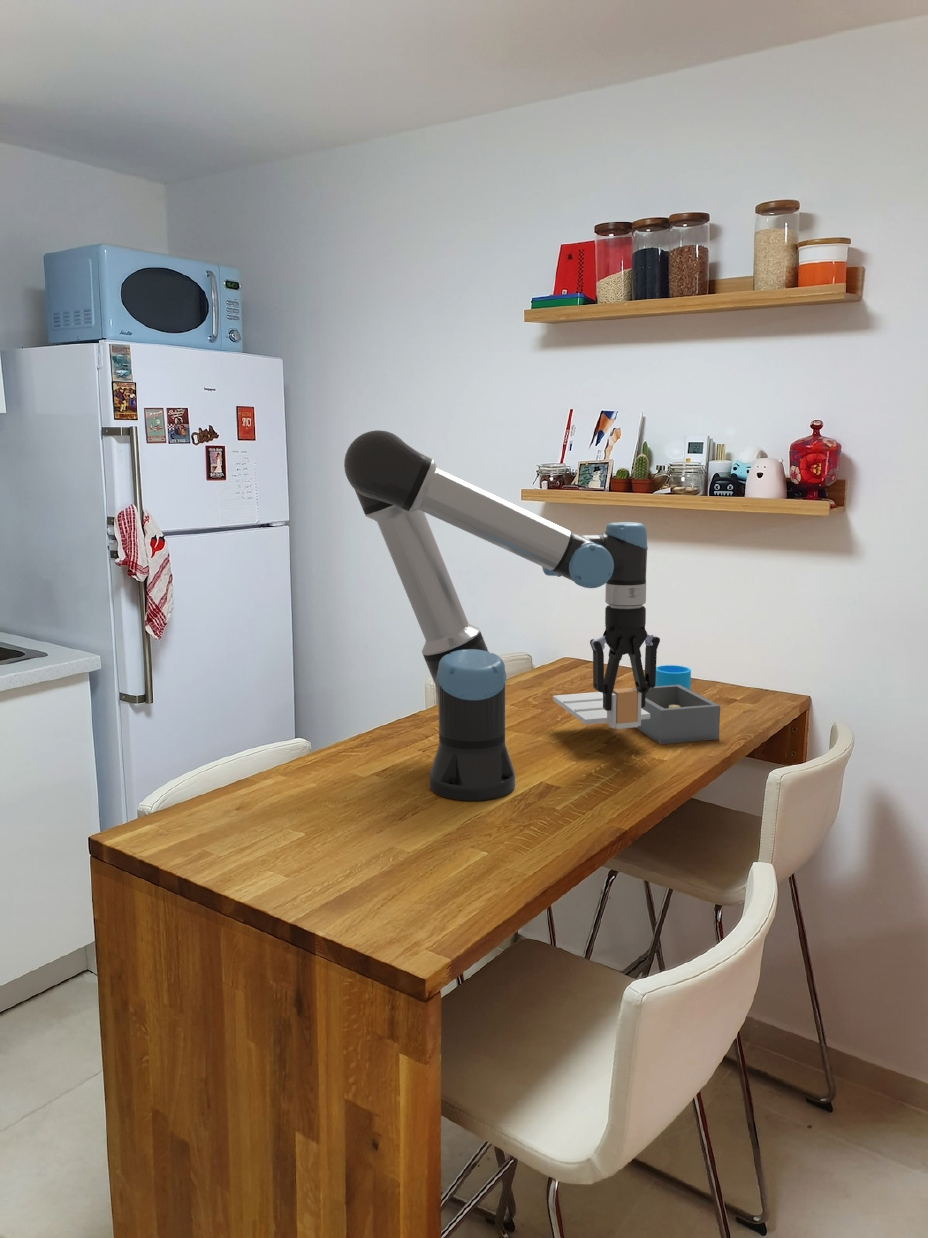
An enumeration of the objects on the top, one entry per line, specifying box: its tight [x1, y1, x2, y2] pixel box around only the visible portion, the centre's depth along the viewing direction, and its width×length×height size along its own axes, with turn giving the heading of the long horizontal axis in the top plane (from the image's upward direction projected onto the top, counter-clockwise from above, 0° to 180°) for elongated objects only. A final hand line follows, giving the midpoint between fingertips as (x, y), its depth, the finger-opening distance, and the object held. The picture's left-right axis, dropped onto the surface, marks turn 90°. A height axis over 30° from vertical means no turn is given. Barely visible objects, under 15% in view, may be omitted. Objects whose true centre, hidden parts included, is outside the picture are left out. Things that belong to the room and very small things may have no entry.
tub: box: [632, 685, 721, 745], centre depth 201 cm, size 13×18×7 cm
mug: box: [655, 664, 692, 690], centre depth 223 cm, size 12×8×8 cm
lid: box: [552, 687, 650, 730], centre depth 192 cm, size 14×23×7 cm, turn 14°
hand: (623, 724), depth 183 cm, fingers closed on lid, 4 cm apart
